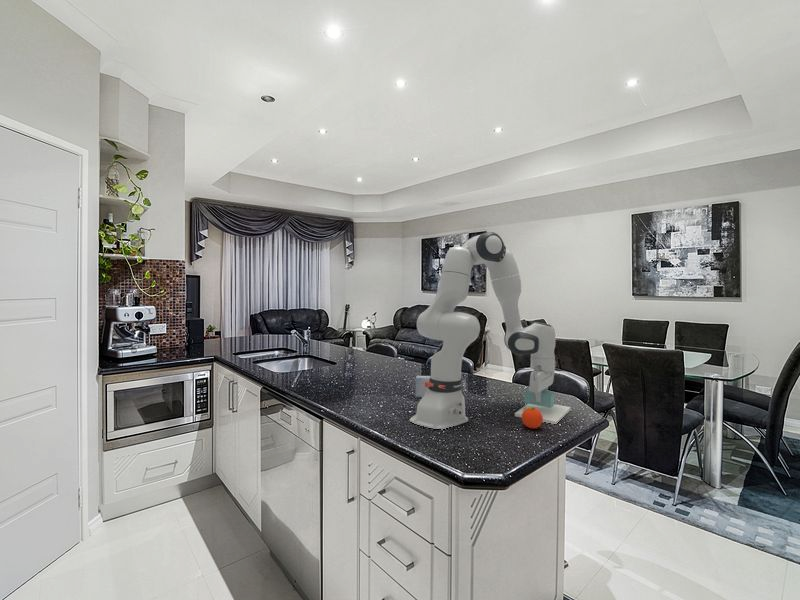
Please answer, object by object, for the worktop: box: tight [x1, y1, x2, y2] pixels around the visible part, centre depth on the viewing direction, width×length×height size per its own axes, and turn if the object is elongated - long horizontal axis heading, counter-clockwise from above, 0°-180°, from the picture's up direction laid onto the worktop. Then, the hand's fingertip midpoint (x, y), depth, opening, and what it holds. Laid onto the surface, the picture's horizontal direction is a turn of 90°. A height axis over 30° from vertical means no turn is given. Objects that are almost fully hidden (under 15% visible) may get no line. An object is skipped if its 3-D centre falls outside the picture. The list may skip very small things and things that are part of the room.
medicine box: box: [414, 375, 431, 398], centre depth 172 cm, size 8×4×9 cm, turn 84°
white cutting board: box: [514, 403, 571, 425], centre depth 152 cm, size 22×15×1 cm
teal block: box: [524, 387, 556, 408], centre depth 153 cm, size 5×5×10 cm
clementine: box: [521, 407, 543, 429], centre depth 136 cm, size 8×7×7 cm
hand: (541, 399), depth 153 cm, fingers closed on teal block, 5 cm apart
